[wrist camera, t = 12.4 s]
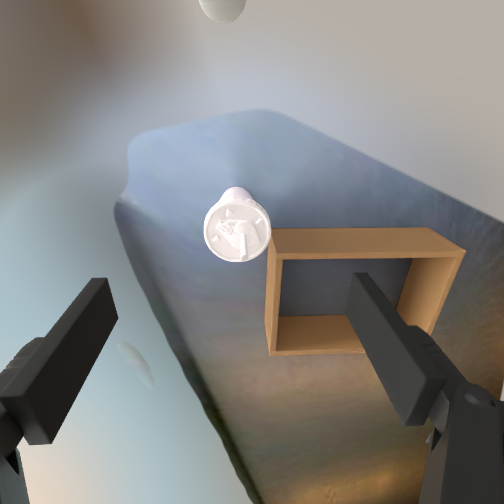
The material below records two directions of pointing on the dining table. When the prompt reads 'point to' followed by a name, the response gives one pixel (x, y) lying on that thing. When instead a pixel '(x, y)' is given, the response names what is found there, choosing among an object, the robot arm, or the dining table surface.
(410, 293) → the wooden box
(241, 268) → the dining table surface
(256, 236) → the smoothie
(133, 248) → the dining table surface
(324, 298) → the dining table surface
